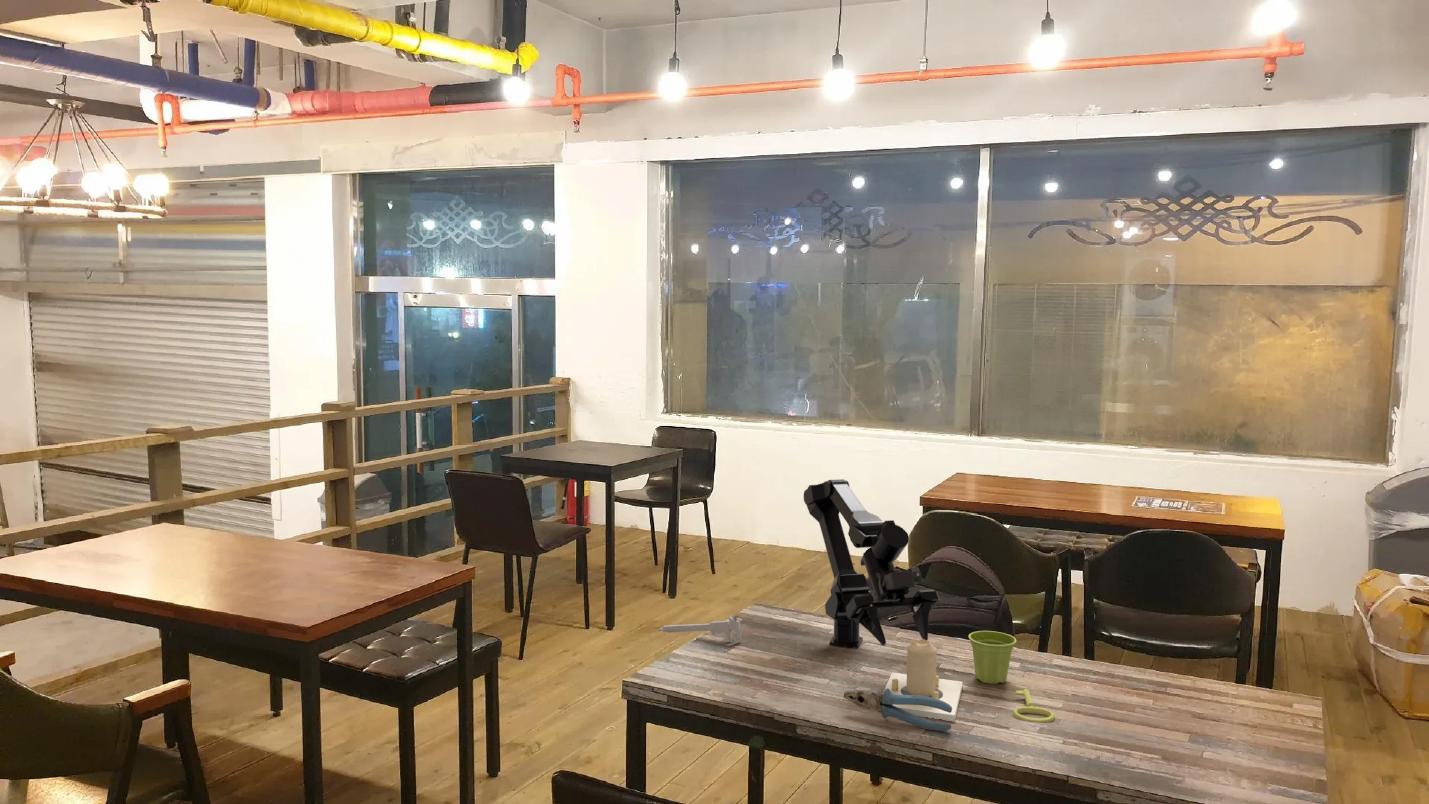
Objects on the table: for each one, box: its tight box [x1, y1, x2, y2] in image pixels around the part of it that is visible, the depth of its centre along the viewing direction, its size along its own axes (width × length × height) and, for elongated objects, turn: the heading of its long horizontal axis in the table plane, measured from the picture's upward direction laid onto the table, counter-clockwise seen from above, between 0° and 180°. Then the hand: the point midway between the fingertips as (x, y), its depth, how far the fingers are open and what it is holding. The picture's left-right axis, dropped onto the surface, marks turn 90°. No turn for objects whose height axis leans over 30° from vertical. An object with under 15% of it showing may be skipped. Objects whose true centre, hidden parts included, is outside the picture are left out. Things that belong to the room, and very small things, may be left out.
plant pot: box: [968, 630, 1017, 685], centre depth 207 cm, size 9×9×9 cm
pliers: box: [843, 688, 952, 732], centre depth 184 cm, size 20×2×6 cm, turn 62°
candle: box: [906, 638, 938, 697], centre depth 195 cm, size 6×6×10 cm
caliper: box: [657, 615, 742, 644], centre depth 230 cm, size 20×1×6 cm, turn 66°
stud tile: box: [882, 672, 964, 723], centre depth 195 cm, size 18×14×3 cm
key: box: [1012, 688, 1055, 723], centre depth 191 cm, size 7×12×2 cm, turn 10°
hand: (905, 642), depth 202 cm, fingers open, 9 cm apart
